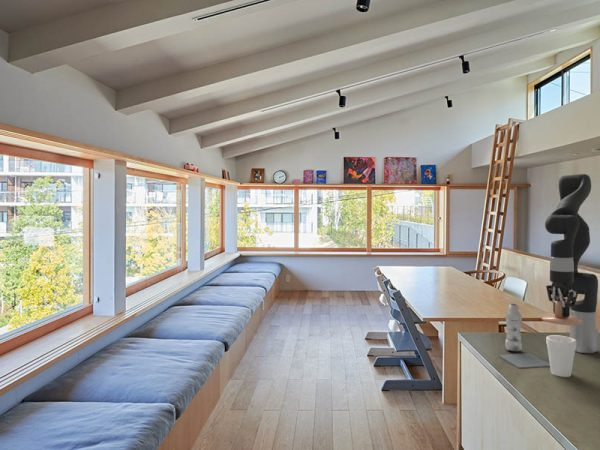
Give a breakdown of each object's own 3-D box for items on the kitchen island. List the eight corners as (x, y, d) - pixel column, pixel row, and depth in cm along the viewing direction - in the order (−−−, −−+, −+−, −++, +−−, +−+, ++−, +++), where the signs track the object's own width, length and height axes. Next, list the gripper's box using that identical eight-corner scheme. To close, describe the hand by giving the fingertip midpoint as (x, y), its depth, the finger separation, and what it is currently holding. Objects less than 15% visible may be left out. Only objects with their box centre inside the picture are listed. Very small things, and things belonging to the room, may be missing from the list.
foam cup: (578, 380, 154) (578, 344, 154) (549, 376, 157) (549, 341, 157) (572, 370, 163) (572, 336, 163) (544, 367, 166) (544, 334, 166)
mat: (529, 354, 181) (529, 353, 181) (552, 366, 167) (552, 365, 167) (498, 355, 180) (498, 354, 180) (518, 368, 166) (518, 367, 166)
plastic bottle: (518, 348, 189) (518, 302, 188) (524, 353, 182) (524, 306, 181) (502, 347, 190) (502, 302, 189) (508, 353, 183) (508, 306, 182)
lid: (564, 315, 167) (564, 297, 166) (591, 324, 154) (591, 304, 153) (533, 316, 165) (533, 298, 165) (557, 325, 152) (557, 306, 152)
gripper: (586, 271, 152) (585, 320, 153) (557, 266, 166) (557, 310, 167) (566, 272, 151) (565, 321, 152) (539, 266, 165) (539, 311, 166)
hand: (561, 315), depth 159 cm, fingers closed on lid, 4 cm apart
